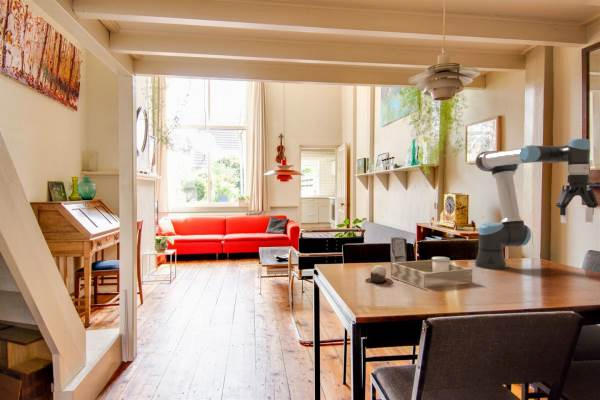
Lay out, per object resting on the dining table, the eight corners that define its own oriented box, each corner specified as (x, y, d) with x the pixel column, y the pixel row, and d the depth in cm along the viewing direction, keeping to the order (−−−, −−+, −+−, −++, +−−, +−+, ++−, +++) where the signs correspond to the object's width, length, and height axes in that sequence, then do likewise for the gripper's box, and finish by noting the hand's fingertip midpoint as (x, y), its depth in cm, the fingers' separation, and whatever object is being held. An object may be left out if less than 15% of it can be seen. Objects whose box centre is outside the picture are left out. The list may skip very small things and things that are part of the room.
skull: (367, 275, 174) (382, 260, 171) (383, 292, 171) (398, 277, 168) (359, 279, 164) (375, 263, 160) (376, 297, 160) (392, 281, 157)
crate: (390, 277, 173) (391, 263, 173) (433, 273, 182) (433, 259, 182) (425, 290, 150) (426, 273, 150) (472, 285, 159) (472, 269, 159)
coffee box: (406, 270, 190) (407, 239, 190) (394, 270, 190) (394, 239, 190) (402, 266, 199) (402, 237, 199) (390, 266, 199) (390, 237, 199)
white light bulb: (428, 276, 170) (428, 257, 170) (441, 275, 173) (441, 256, 173) (439, 280, 163) (439, 260, 163) (453, 278, 166) (453, 258, 166)
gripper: (562, 173, 156) (561, 223, 157) (609, 174, 162) (607, 222, 162) (547, 174, 163) (545, 222, 164) (592, 174, 169) (590, 221, 170)
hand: (576, 222), depth 163 cm, fingers open, 13 cm apart
